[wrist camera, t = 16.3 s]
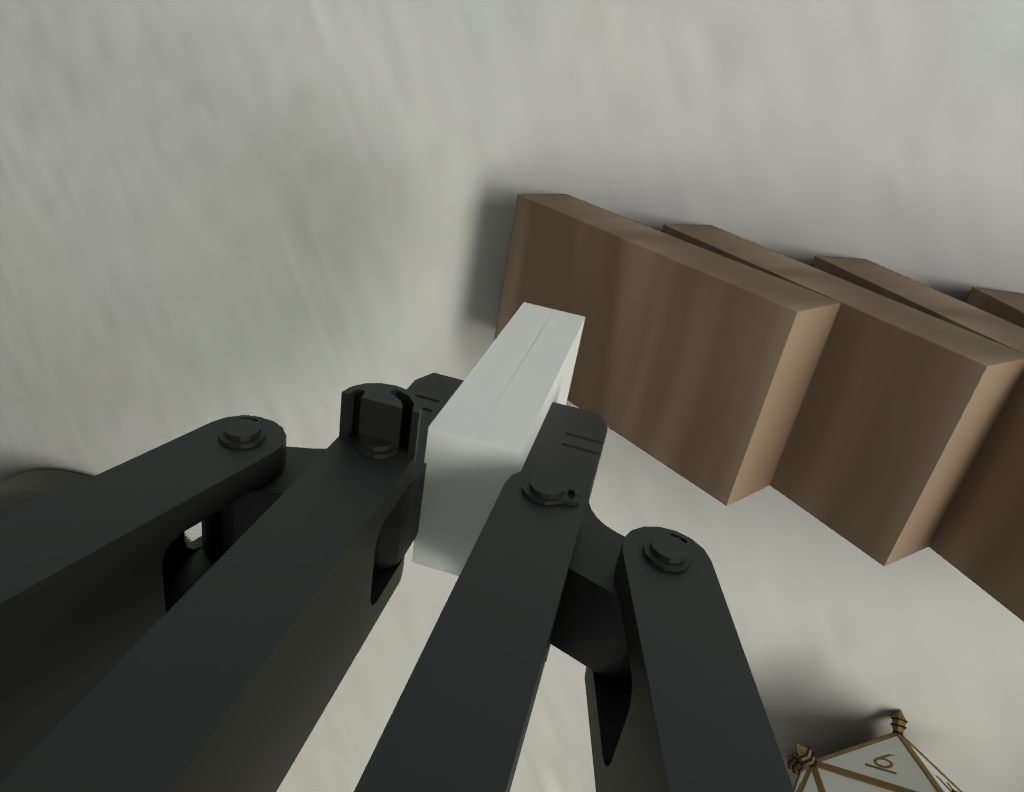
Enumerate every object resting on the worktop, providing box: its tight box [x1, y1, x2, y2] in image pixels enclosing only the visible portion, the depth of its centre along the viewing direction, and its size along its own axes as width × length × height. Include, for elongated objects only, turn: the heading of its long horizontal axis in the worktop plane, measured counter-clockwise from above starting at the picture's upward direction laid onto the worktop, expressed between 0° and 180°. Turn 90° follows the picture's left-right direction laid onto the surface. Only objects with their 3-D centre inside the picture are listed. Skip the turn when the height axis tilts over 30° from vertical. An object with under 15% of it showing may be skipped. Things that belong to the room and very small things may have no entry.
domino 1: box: [494, 194, 841, 506], centre depth 20 cm, size 2×5×10 cm
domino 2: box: [662, 225, 1024, 566], centre depth 19 cm, size 2×5×10 cm
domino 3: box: [811, 256, 1024, 621], centre depth 19 cm, size 2×5×10 cm
